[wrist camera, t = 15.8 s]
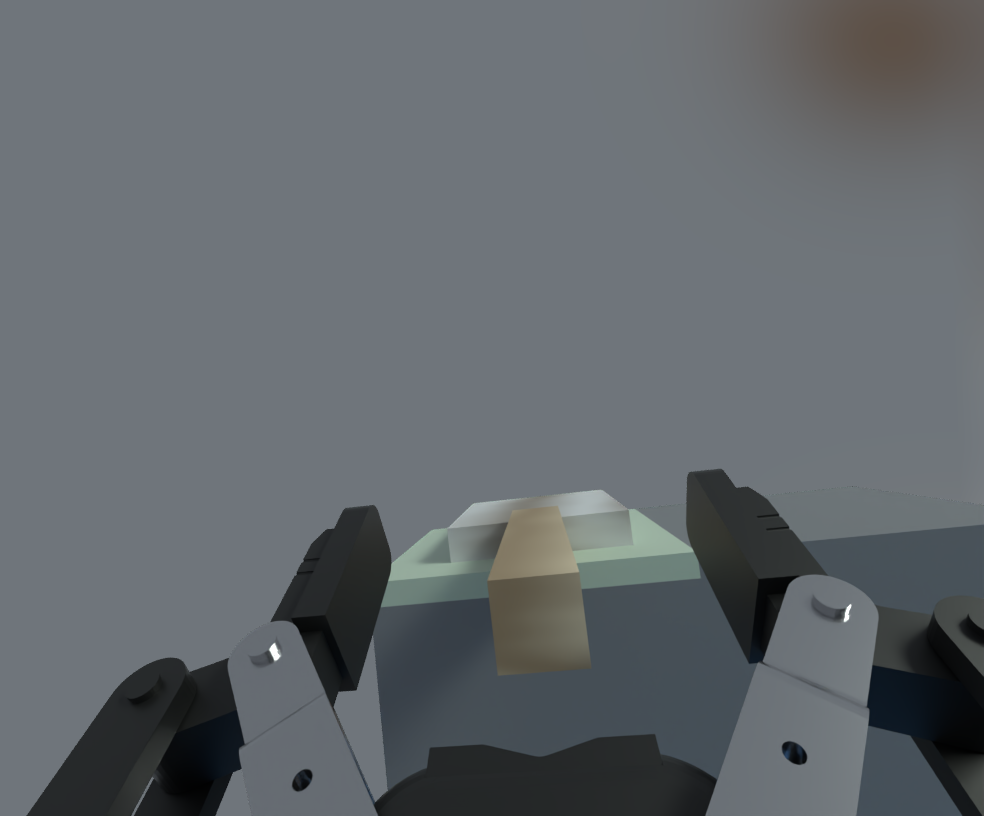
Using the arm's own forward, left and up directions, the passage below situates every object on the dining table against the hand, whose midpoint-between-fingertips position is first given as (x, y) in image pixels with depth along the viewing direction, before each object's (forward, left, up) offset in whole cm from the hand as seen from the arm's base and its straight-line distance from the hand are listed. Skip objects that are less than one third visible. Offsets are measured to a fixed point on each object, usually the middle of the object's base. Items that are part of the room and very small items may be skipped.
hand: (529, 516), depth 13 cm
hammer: (0, -9, -3) cm, 9 cm away
